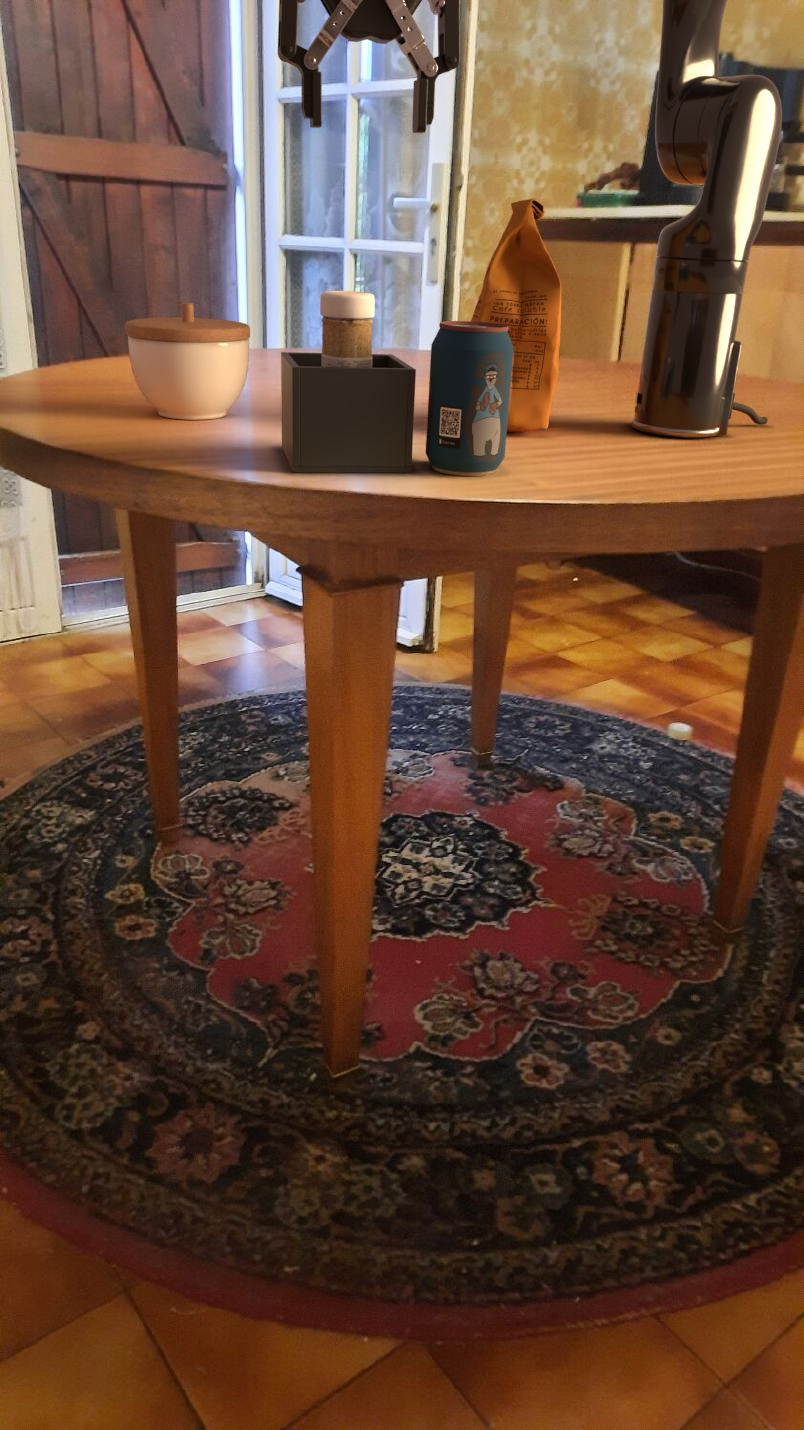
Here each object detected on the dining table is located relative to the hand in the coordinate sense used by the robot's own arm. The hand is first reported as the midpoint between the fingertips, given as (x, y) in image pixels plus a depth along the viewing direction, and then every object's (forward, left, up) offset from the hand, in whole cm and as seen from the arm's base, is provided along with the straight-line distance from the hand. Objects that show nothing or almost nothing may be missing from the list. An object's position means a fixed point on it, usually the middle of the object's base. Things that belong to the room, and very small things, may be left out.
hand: (368, 130), depth 83 cm
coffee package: (-18, -14, -26) cm, 35 cm away
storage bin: (+2, +3, -26) cm, 26 cm away
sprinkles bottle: (+2, +3, -26) cm, 26 cm away
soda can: (-8, +7, -26) cm, 28 cm away
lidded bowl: (+15, -20, -26) cm, 36 cm away
